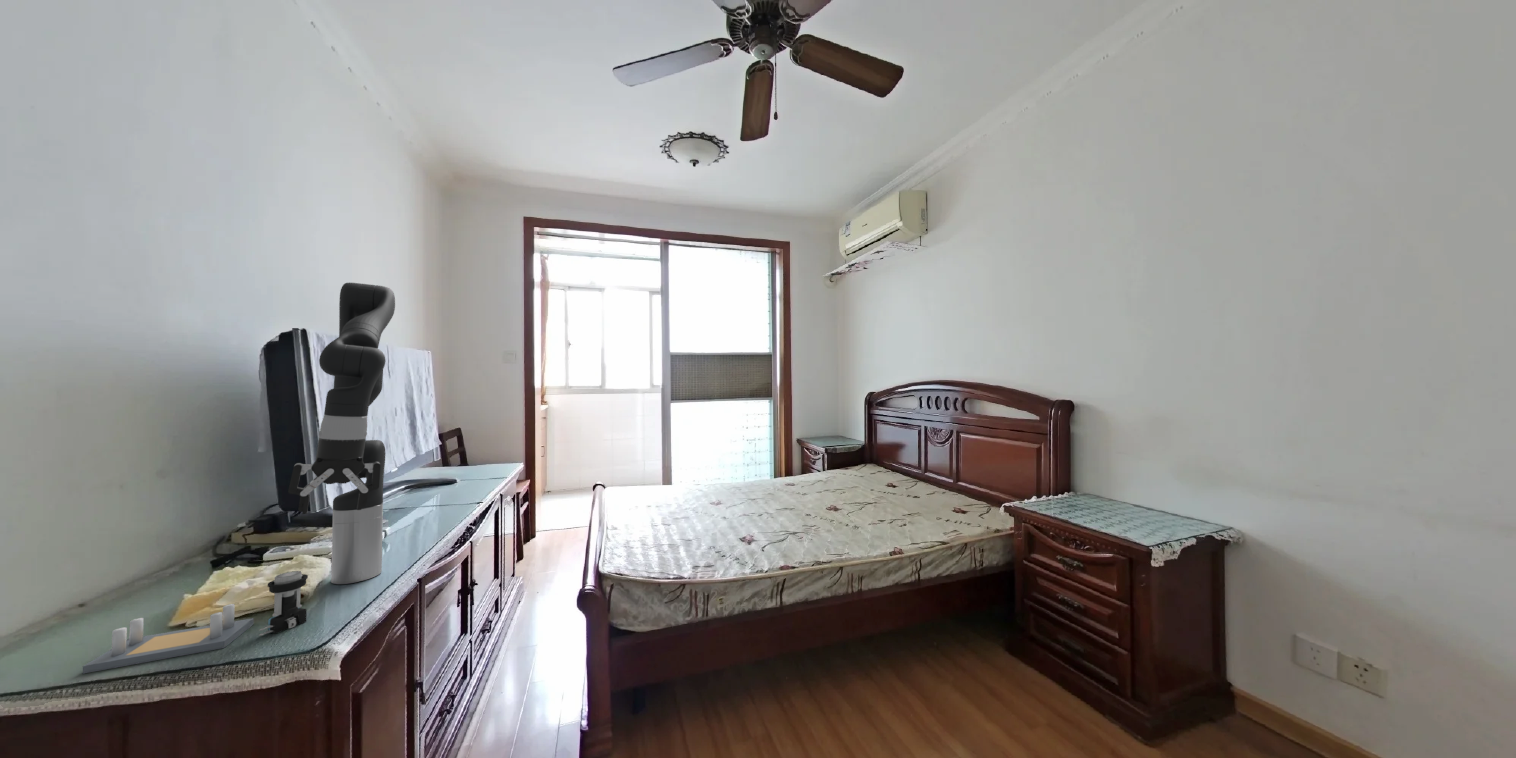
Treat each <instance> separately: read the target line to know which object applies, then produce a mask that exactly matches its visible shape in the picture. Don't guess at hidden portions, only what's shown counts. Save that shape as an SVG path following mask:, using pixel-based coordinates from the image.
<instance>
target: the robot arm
mask: <svg viewBox="0 0 1516 758" xmlns="http://www.w3.org/2000/svg"><path fill="white" fill-rule="evenodd" d="M339 291H340V293H339V304H338V307H339V309H338V310H339V312H338V313H339V315H338V317H339V321H338V322H339V323H338V324H339V326H338V328H339V330H338V334H339V335H338V337H336V338H335V339H334V340H332V341H331V342H329V343H328V344H327V345H326V346H325V347H324V349H322V351H321V353H320V355H319V358H318V363H319V367H320V369H321V370H322V371H323V372H324V373H325V374H326V375H330V376H334V378H333V379H334V380H333V388H330V389H329V390H328V391H327V393H326V397H325V398H326V399H325V405H324V413H323V418H322V421H321V424H320V429H319V432H318V443H317V449H316V457H315V461H314V462H313V463H311V464H308V463H306V464H305V463H302V462H296V463H295V464H294V466H293V469H292V472H291V475H290V482H289V485H288V490H287V493H288V494H289V495H297V496H299V502H298V509H297V510H298V512H300V513H301V512H302V515H308V509H309V505H310V497H311V496H310V495H311V494H310V493H311V492H313V491H314V490H315V489H316V488H318V487H319V486H320V485H321V484H322V483H323V484H326V485H334V484H343V485H344V484H347V483H350V482H351V483H352V484H353V485H354V486H355V487H356V488H354V489H353V490H350V491H346V492H344V493H340V494H339V495H337V496H335V497H334V498H333V501H332V529H331V530H332V532H331V533H332V534H331V537H332V538H331V568H330V569H331V571H330V573H331V574H330V575H331V577H330V582H331V584H333V585H347V584H353V583H359V582H362V581H367V580H369V579H372V578H374V577H377V576H379V575H380V574H381V573H382V572H383V571H382V567H383V566H382V563H383V530H384V529H383V526H384V525H383V523H384V521H383V518H384V516H383V512H384V477H385V476H384V473H385V465H386V464H385V463H386V446H385V443H384V442H383V441H382V440H378V439H368V440H367V435H368V432H367V431H368V414H369V406H371V405H372V404H373V403H374V401H375V400H376V399H377V398H378V397H379V395H380V394H381V392H382V390H383V379H384V378H383V377H384V367H385V365H386V356H385V354H384V353H383V351H382V350H381V349H379V346H380V342H381V341H380V340H381V337H382V333H383V332H384V330H386V328H387V326H388V325H389V323H390V322H391V320H392V318H393V316H394V314H395V310H396V298H395V293H394V291H393V290H392V289H391V288H390V287H388V286H383V285H379V284H378V285H375V284H367V283H359V282H358V283H357V282H346V283H344V284H342V286H341V287H340V290H339ZM310 470H311V472H312V473H313V474H314V475H315V477H314V478H313V479H312V480H311V481H310V482H309V483H308V484H306V485H305V486H304V487H299V484H300V478H301V476H303V475H305V474H307V472H308V471H310ZM362 479H366V480H365V482H364V481H363V480H362Z"/></svg>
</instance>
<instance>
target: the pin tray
mask: <svg viewBox="0 0 1516 758" xmlns="http://www.w3.org/2000/svg"><path fill="white" fill-rule="evenodd" d="M235 605H236V604H235V603H230V604H226V605H224V606H222V611H221V612H220V611H219V612H214V613H213V614H210V618H209V619H210V620H209V625H205V626H204V625H203V626H199V627H191V628H187V629H186V628H185V629H180V630H179V629H177V630H173V631H167V632H162V633H155V634H148V635H144V621H145V620H144V617H139V618H134V619H132V620H130V621H129V638H128V639H127V634H128V633H127V631H128V627H125V626H124V627H119V628H116V629H113V630H112V631H111V633H112V634H111V648H110V649H109V650H107V651H105V652H104V653H103V654H101V655H99V656H97V657H95V658H94V659H93V660H91V661H89V662H87V663H85V664H84V665H83V666H82V674H89V673H94V672H99V671H105V670H111V669H115V668H116V669H117V668H121V667H126V666H133V665H136V664H137V665H138V664H144V663H149V662H154V661H160V660H164V659H165V660H166V659H172V658H176V657H177V658H178V657H181V656H187V655H192V654H193V655H194V654H198V653H199V654H200V653H203V652H204V653H205V652H209V651H215V650H220V649H224V648H226V647H228V646H229V645H230V644H232V642H233V641H235V640H236V639H237V638H239V636H241V635H242V634H243V633H245V632H246V631H247V630H249V629H250V628H251V627H252V626H253V625H254V617H251V618H246V619H240V620H235V607H236V606H235Z"/></svg>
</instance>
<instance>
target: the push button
mask: <svg viewBox="0 0 1516 758" xmlns="http://www.w3.org/2000/svg"><path fill="white" fill-rule="evenodd" d="M302 572H303V571H301V570H295V571H287V572H284V573H280V574H277V575H276V576H274V579H273V580H271V581H269V582H268V583H267V587H268V589H269V593H271V594H274V604H273V606H274V607H273V610H274V611H273V613H272V616H271V617H270V618H268V620H267V622H268V623H267V624H268V625H267V626H265V627H262V628H260V629H258V631H265V630H266V631H265V632H261V633H260V634H258V637H259V636H264V635H267V634H270V633H271V634H278V633H281V632H283V631H285V630H288V629H292V628H294V627H297V626H298V625H303V624H305V623H307V612H308V611H307V608H304V607H303V608H302V606H303V605H302V604H301V591H302V590H301V588H302V587H304V586H305V585H306V584H307V580H308V576H309V575H307V574H306V573H305V574H304V573H302Z"/></svg>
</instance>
